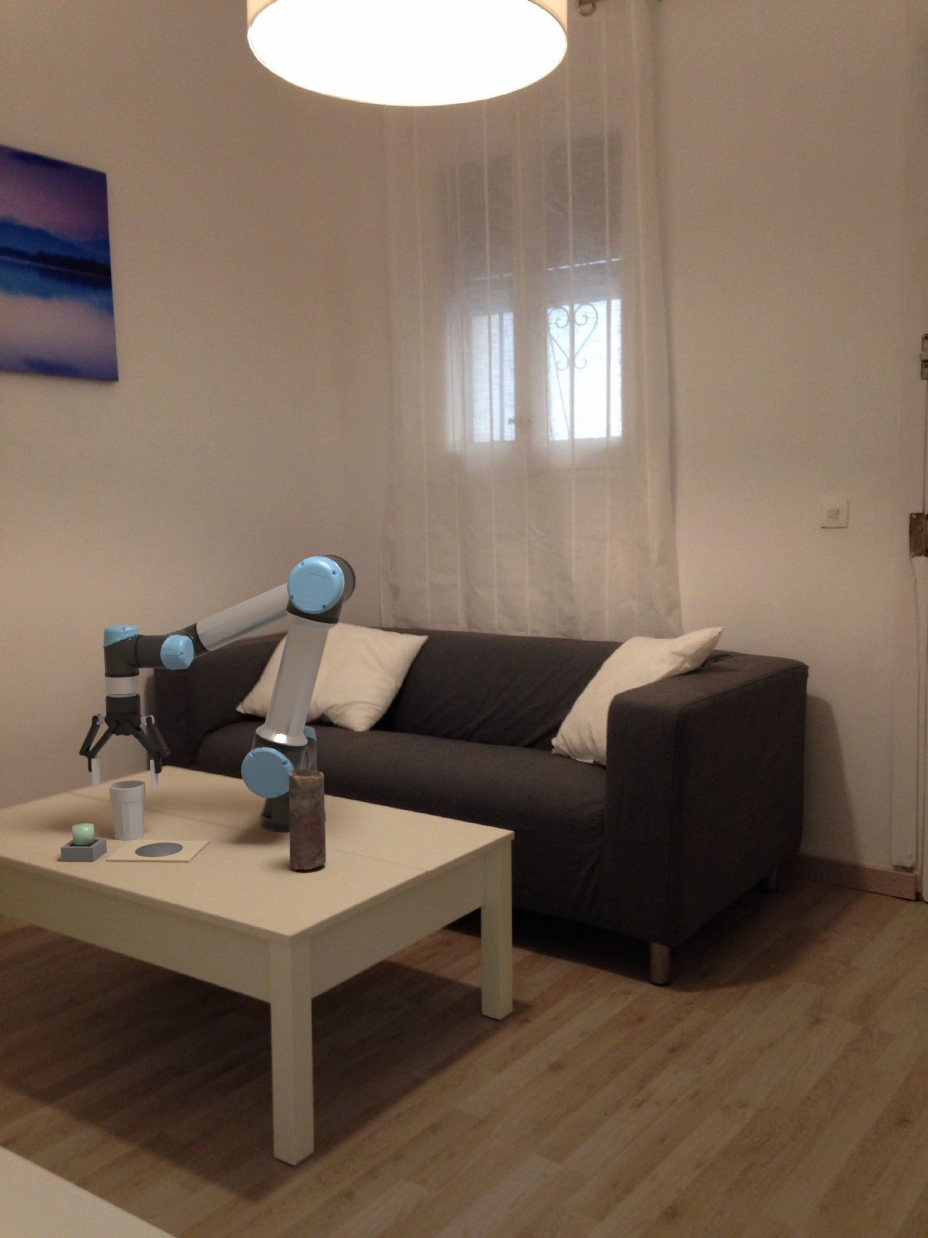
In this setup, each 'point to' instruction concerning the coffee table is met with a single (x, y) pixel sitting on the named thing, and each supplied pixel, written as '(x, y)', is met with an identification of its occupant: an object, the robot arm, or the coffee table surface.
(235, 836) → the coffee table surface
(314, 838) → the brown tall cylinder
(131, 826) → the cup
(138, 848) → the sheet
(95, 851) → the button housing
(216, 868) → the coffee table surface
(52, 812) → the coffee table surface
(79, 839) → the button
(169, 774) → the coffee table surface
